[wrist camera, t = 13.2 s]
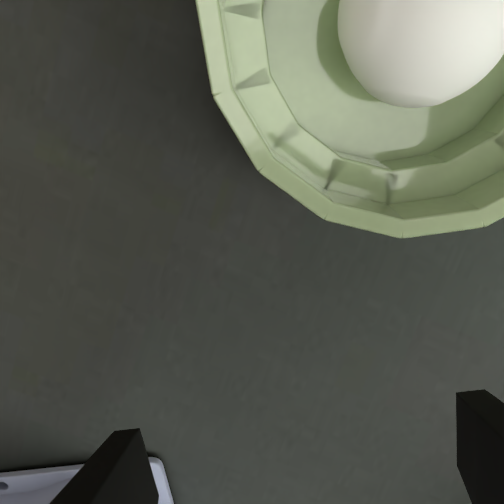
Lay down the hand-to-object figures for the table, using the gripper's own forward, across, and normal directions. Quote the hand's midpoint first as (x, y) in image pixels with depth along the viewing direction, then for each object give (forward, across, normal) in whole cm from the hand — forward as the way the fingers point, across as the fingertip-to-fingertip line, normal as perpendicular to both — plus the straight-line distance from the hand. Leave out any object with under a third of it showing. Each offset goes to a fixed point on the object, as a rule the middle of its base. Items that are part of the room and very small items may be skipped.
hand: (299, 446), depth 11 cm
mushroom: (+9, -5, -9) cm, 14 cm away
